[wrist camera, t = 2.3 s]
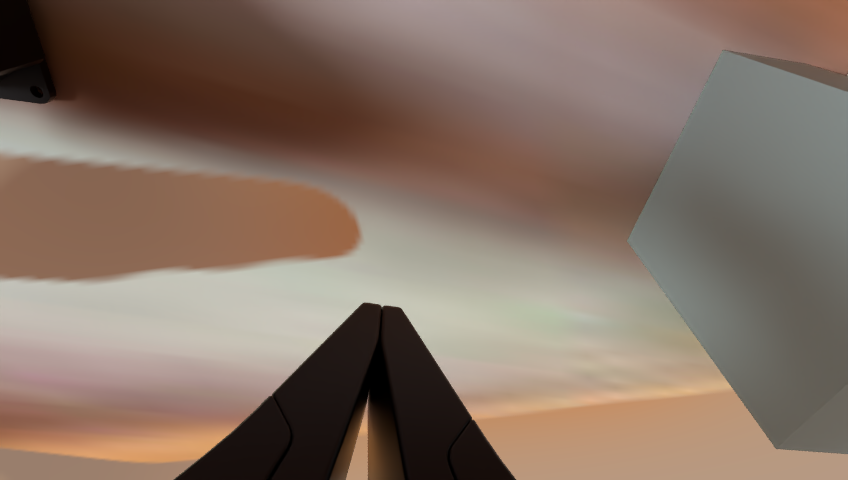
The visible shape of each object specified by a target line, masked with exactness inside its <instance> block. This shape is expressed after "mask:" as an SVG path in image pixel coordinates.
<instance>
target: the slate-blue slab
mask: <svg viewBox="0 0 848 480" xmlns="http://www.w3.org/2000/svg"><path fill="white" fill-rule="evenodd" d="M627 242H628V243H629V244H630V246H631V247H632V249H633V250H634V251H635V253H636V254H637V256H638V257H639V258H640V260H641V261H642V263H643V264H644V265H645V267H646V268H647V270H648V271H649V272H650V274H651V275H652V276H653V278H654V279H655V281H656V282H657V283H658V285H659V286H660V288H661V289H662V290H663V292H664V293H665V295H666V296H667V297H668V299H669V300H670V302H671V303H672V304H673V306H674V307H675V309H676V310H677V311H678V313H679V314H680V316H681V317H682V318H683V320H684V321H685V323H686V324H687V325H688V327H689V328H690V330H691V331H692V332H693V334H694V335H695V337H696V338H697V339H698V341H699V342H700V343H701V345H702V346H703V348H704V349H705V350H706V352H707V353H708V355H709V356H710V357H711V359H712V360H713V362H714V363H715V364H716V366H717V367H718V369H719V370H720V371H721V373H722V374H723V376H724V377H725V378H726V380H727V381H728V383H729V384H730V385H731V387H732V388H733V390H734V391H735V392H736V394H737V395H738V397H739V398H740V399H741V401H742V402H743V403H744V405H745V406H746V408H747V409H748V410H749V412H750V413H751V414H752V416H753V417H754V419H755V420H756V422H757V423H758V424H759V426H760V427H761V429H762V430H763V431H764V433H765V434H766V436H767V437H768V438H769V440H770V441H771V442H772V444H773V445H774V447H775V448H776V449H785V450H799V451H813V452H828V453H841V454H848V76H845V75H842V74H839V73H835V72H832V71H829V70H825V69H822V68H819V67H815V66H812V65H809V64H804V63H798V62H792V61H786V60H780V59H774V58H768V57H762V56H756V55H750V54H744V53H738V52H732V51H726V50H723V51H722V53H721V55H720V57H719V59H718V61H717V63H716V65H715V67H714V69H713V71H712V73H711V75H710V77H709V79H708V81H707V83H706V85H705V87H704V89H703V91H702V93H701V95H700V97H699V99H698V101H697V103H696V105H695V107H694V109H693V111H692V113H691V115H690V117H689V119H688V121H687V123H686V125H685V127H684V128H683V130H682V132H681V134H680V136H679V138H678V140H677V142H676V144H675V146H674V148H673V150H672V152H671V154H670V156H669V158H668V160H667V162H666V164H665V166H664V168H663V170H662V172H661V174H660V176H659V178H658V180H657V182H656V184H655V186H654V188H653V190H652V192H651V194H650V196H649V198H648V200H647V202H646V204H645V206H644V208H643V210H642V212H641V214H640V216H639V218H638V220H637V222H636V224H635V226H634V228H633V230H632V232H631V234H630V236H629V238H628V240H627Z"/></svg>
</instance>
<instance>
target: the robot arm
mask: <svg viewBox="0 0 848 480" xmlns="http://www.w3.org/2000/svg"><path fill="white" fill-rule="evenodd" d="M37 87H39V88H40V89H41V90H42V92H43V94H41V93H40V92H39V91H38V89H37ZM55 97H56V90H55V87H54V84H53V81H52V78H51V75H50V72H49V69H48V66H47V63H46V60H45V56H44V53H43V50H42V46H41V43H40V40H39V37H38V34H37V31H36V28H35V25H34V22H33V19H32V16H31V13H30V10H29V7H28V3H27V0H0V98H2V99H10V100H17V101H25V102H32V103H40V104H44V103H47V102H50V101H52V100H54V99H55ZM368 394H369V397H368ZM367 399H368V480H516V479H515V478H514V476H513V475H512V474H511V472H510V471H509V470H508V468H507V467H506V466H505V464H504V463H503V462H502V461H501V459H500V458H499V456H498V455H497V454H496V452H495V450H494V449H493V448H492V446H491V445H490V443H489V442H488V441H487V439H486V437H485V436H484V434H483V433H482V432H481V430H480V428H479V427H478V425H477V424H476V422H475V421H474V420H472V417H471V415H470V414H469V412H468V411H467V409H466V408H465V406H464V405H463V403H462V401H461V400H460V398H459V397H458V395H457V394H456V392H455V391H454V389H453V387H452V386H451V384H450V383H449V381H448V380H447V378H446V377H445V375H444V374H443V372H442V370H441V369H440V367H439V366H438V364H437V363H436V361H435V360H434V358H433V356H432V355H431V353H430V352H429V350H428V349H427V347H426V346H425V344H424V343H423V341H422V339H421V338H420V336H419V335H418V333H417V332H416V330H415V329H414V327H413V325H412V324H411V322H410V321H409V319H408V318H407V316H406V315H405V313H404V312H403V310H402V309H401V308H399V307H393V306H383V307H381V305H379V304H372V303H363V304H361V305H360V306H359V307H358V308H357V309H356V310H355V311H354V312H353V313H352V314H351V315H350V316H349V317H348V318H347V319H346V320H345V321H344V322H343V323H342V324H341V325H340V326H339V327H338V328H337V329H336V330H335V331H334V332H333V333H332V334H331V335H330V336H329V337H328V338H327V339H326V340H325V341H324V342H323V343H322V344H321V345H320V346H319V347H318V348H317V349H316V350H315V351H314V352H313V353H312V354H311V355H310V356H309V357H308V358H307V359H306V360H305V361H304V362H303V363H302V364H301V365H300V366H299V367H298V369H297V370H296V371H295V372H294V373H293V374H292V375H291V376H290V377H289V378H288V379H287V380H286V381H285V382H284V383H283V384H282V385H281V386H280V387H279V388H278V389H277V390H276V391H275V392H274V393H273V394H272V396H269V397H268V398H267V399H266V400H265V401H264V402H263V403H262V404H261V405H260V406H259V407H258V408H257V409H256V410H255V411H254V412H253V413H252V414H251V415H250V416H248V417H247V418H246V419H245V420H244V421H243V422H242V423H241V424H240V425H239V426H238V427H237V428H236V429H235V430H234V431H232V432H231V433H230V434H229V435H228V436H226V437H225V438H224V439H223V440H222V441H221V442H219V443H218V444H217V445H216V446H215V447H213V448H212V449H211V450H210V451H209V452H207V453H206V454H205V455H204V456H202V457H201V458H200V459H199V460H197V461H196V462H195V463H194V464H192V465H191V466H190V467H189V468H187V469H186V470H185V471H184V472H183V473H181V474H180V475H179V476H178V477H176V478H175V479H174V480H346V476H347V473H348V469H349V466H350V462H351V458H352V455H353V451H354V447H355V444H356V440H357V437H358V433H359V430H360V426H361V423H362V419H363V415H364V412H365V408H366V404H367Z"/></svg>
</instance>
